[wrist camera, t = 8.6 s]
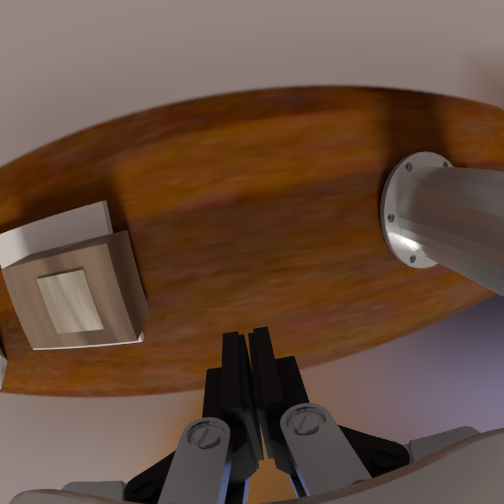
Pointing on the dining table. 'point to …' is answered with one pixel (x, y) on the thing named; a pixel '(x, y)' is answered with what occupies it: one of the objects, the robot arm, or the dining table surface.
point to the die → (2, 366)
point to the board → (57, 237)
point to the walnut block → (79, 293)
